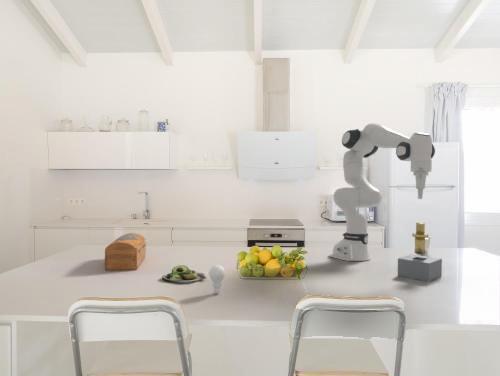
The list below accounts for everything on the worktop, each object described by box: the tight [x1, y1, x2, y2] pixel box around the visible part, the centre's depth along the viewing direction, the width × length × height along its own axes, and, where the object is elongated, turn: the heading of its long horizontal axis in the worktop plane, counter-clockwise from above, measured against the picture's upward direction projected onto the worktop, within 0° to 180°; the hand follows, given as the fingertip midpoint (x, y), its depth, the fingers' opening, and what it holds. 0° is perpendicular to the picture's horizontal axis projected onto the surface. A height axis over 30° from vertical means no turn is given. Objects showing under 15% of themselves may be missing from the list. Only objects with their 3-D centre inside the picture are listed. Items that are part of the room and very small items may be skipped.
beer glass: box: [415, 236, 432, 257], centre depth 196 cm, size 7×7×15 cm
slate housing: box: [397, 253, 443, 282], centre depth 180 cm, size 14×14×8 cm
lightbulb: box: [208, 264, 226, 294], centre depth 151 cm, size 6×6×11 cm
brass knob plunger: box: [411, 222, 429, 255], centre depth 179 cm, size 7×7×14 cm
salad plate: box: [161, 265, 208, 285], centre depth 174 cm, size 19×18×5 cm
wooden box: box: [104, 232, 147, 271], centre depth 203 cm, size 30×16×14 cm, turn 6°
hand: (420, 198), depth 183 cm, fingers open, 8 cm apart
